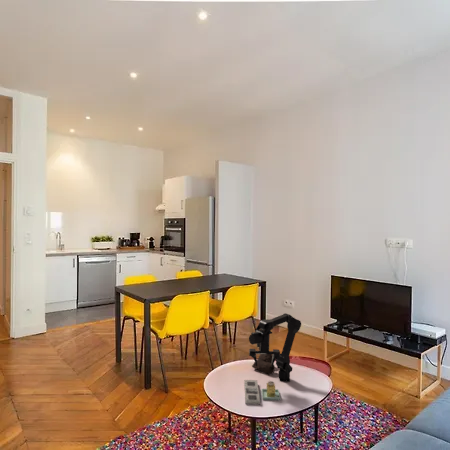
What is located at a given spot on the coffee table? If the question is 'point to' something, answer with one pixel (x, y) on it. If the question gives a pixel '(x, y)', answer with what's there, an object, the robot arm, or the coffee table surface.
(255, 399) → the grey slotted plate
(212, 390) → the coffee table surface
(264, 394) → the parts tray
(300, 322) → the robot arm
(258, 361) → the brown rounded lump
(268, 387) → the brass block with knob
